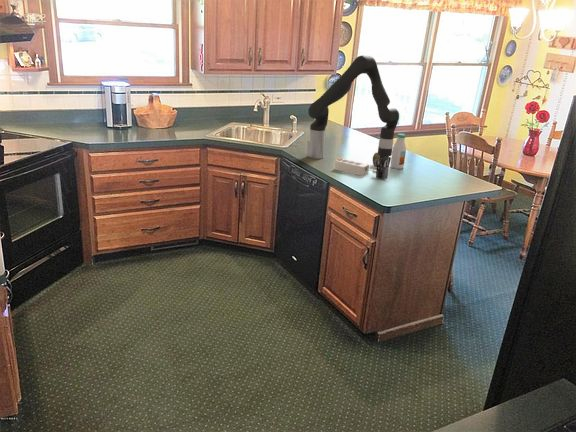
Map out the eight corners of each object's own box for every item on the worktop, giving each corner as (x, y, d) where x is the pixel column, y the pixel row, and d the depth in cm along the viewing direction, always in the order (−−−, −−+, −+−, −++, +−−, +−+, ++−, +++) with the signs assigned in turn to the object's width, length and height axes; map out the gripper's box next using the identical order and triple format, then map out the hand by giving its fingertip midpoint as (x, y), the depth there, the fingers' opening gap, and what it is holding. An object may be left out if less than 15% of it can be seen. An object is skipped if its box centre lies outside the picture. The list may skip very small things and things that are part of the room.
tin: (371, 164, 299) (373, 150, 296) (376, 164, 300) (377, 150, 297) (384, 171, 286) (386, 157, 283) (389, 171, 287) (391, 157, 284)
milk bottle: (393, 169, 291) (398, 135, 284) (387, 165, 298) (392, 132, 291) (405, 169, 293) (410, 135, 286) (399, 165, 300) (404, 132, 293)
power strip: (334, 169, 285) (335, 159, 283) (340, 166, 290) (341, 157, 288) (362, 175, 276) (363, 166, 274) (368, 173, 281) (369, 163, 279)
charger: (371, 176, 274) (372, 165, 272) (374, 175, 278) (376, 163, 275) (383, 179, 270) (385, 168, 268) (387, 178, 274) (388, 166, 271)
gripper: (384, 143, 274) (380, 172, 280) (373, 147, 263) (369, 178, 269) (397, 145, 270) (393, 175, 276) (386, 150, 259) (382, 181, 265)
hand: (381, 176), depth 273 cm, fingers closed on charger, 4 cm apart
